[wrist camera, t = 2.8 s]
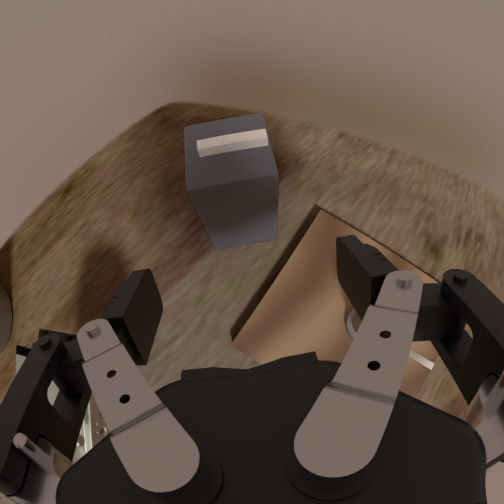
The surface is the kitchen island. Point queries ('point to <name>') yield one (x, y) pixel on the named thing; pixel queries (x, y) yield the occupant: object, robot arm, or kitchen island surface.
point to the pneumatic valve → (93, 420)
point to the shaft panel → (321, 307)
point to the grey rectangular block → (233, 179)
